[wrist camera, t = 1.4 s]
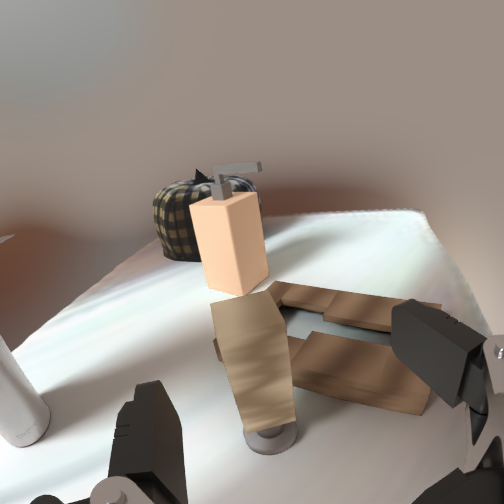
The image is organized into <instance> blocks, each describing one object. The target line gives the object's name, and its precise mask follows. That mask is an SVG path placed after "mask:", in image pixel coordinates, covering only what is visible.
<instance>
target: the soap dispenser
mask: <svg viewBox="0 0 504 504" xmlns="http://www.w3.org/2000/svg"><path fill="white" fill-rule="evenodd" d="M260 171H262V167H261V162H246V163H235V164H224V165H216V166H213V173H214V178H215V184H214V185H211V186H210V188H211V193H212V196H211V197H208V198H206V199H203V200H201V201H199V202H196V203H194V204H191V205H189V208H190V212H191V217H192V222H193V226H194V230H195V235H196V239H197V243H198V248H199V252H200V256H201V260H202V265H203V269H204V273H205V277H206V281H207V285H208V288H209V289H213V290H217V291H221V292H225V293H229V294H233V295H237V296H245V295H246V294H248V293H249V292H250V291H251V290H252V289H254V288H255V287H256V286H257V285H258V284H259V283H261V282H262V281H263V280H264V279H265V278H266V277H268V276H269V269H268V263H267V256H266V249H265V243H264V236H263V229H262V223H261V216H260V210H259V203H258V197H257V192H232V188H231V183H230V182H224V176H223V174H238V173H255V172H260Z"/></svg>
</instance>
